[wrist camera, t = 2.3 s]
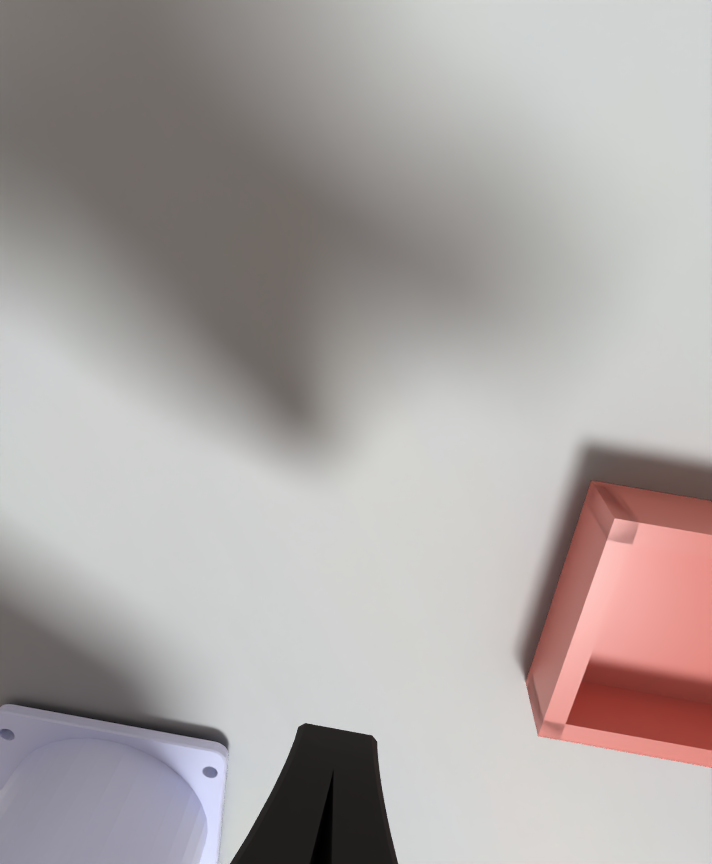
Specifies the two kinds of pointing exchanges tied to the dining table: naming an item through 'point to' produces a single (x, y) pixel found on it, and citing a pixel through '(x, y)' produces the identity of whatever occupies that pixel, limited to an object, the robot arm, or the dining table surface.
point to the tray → (631, 629)
